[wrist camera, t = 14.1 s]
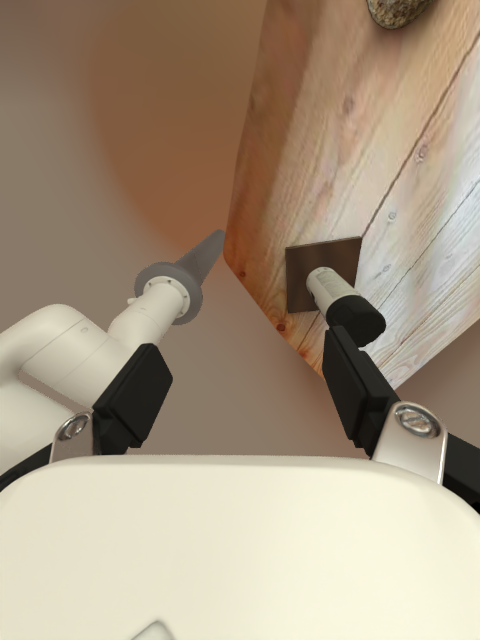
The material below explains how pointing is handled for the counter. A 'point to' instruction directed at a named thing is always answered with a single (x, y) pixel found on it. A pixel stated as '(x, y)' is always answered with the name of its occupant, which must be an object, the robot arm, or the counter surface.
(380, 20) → the cake
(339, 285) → the spray can
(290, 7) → the counter surface
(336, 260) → the chopping board
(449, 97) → the counter surface
